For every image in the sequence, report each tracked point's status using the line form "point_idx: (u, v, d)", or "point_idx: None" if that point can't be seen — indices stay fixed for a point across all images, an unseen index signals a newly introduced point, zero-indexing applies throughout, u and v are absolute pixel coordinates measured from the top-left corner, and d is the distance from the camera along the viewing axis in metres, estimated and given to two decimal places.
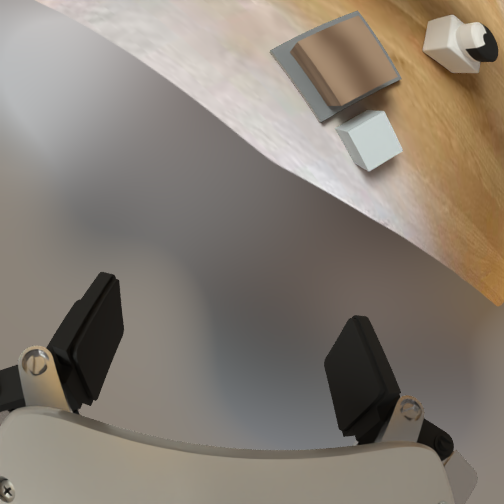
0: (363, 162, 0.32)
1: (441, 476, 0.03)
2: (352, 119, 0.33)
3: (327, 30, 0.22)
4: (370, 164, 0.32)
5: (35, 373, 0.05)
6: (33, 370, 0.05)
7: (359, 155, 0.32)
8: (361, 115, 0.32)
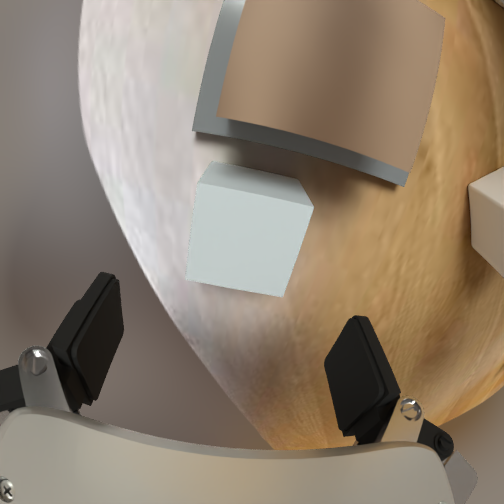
0: None
1: (441, 476, 0.03)
2: (254, 171, 0.18)
3: None
4: (195, 271, 0.16)
5: (35, 373, 0.05)
6: (33, 371, 0.05)
7: None
8: (274, 178, 0.17)
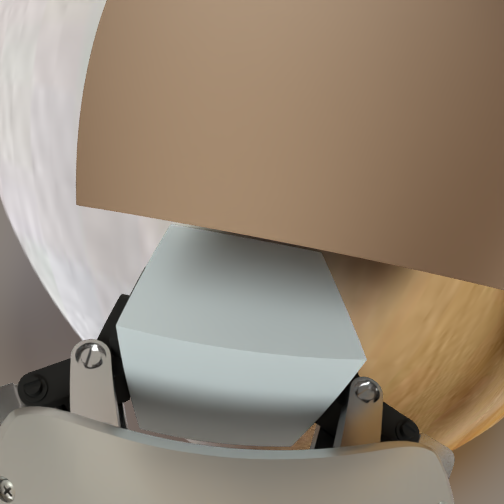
0: None
1: (441, 476, 0.03)
2: (244, 247, 0.10)
3: None
4: (152, 425, 0.08)
5: (88, 366, 0.06)
6: (86, 363, 0.06)
7: None
8: (283, 262, 0.09)
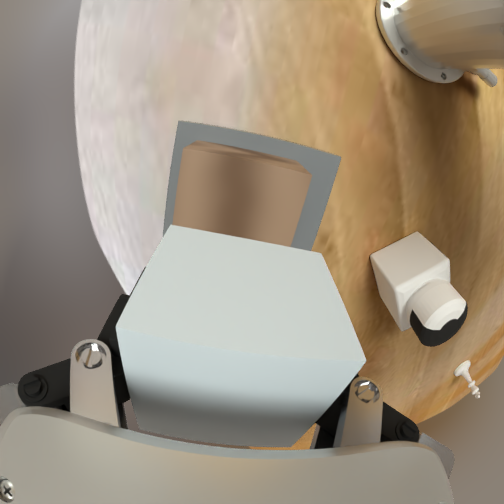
0: None
1: (441, 476, 0.03)
2: (244, 247, 0.10)
3: (240, 162, 0.18)
4: (152, 425, 0.08)
5: (88, 366, 0.06)
6: (86, 363, 0.06)
7: None
8: (282, 263, 0.09)
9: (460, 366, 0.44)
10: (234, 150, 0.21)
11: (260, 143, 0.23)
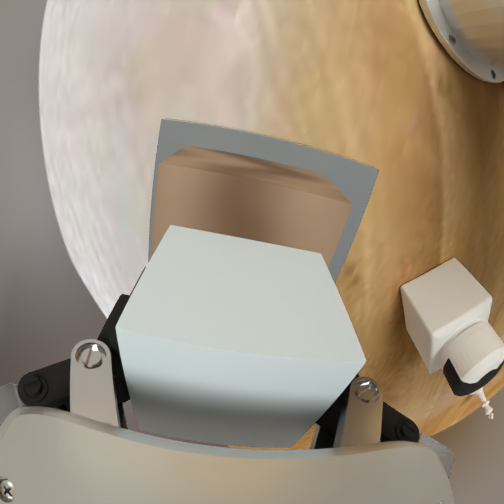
0: None
1: (441, 476, 0.03)
2: (244, 248, 0.10)
3: (246, 185, 0.12)
4: (152, 426, 0.08)
5: (88, 365, 0.06)
6: (86, 362, 0.06)
7: None
8: (282, 263, 0.09)
9: None
10: (237, 161, 0.15)
11: (273, 149, 0.17)
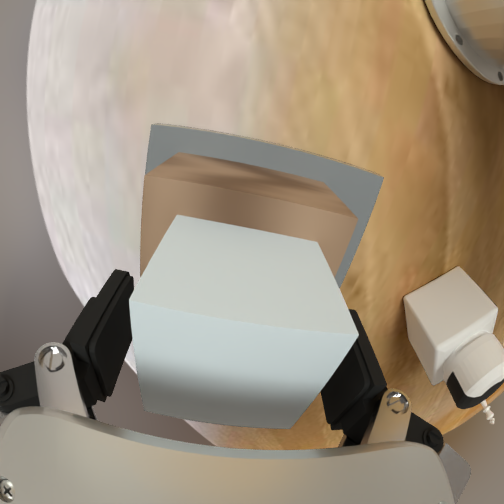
0: None
1: (441, 476, 0.03)
2: (245, 235, 0.11)
3: (241, 199, 0.11)
4: (157, 406, 0.09)
5: (52, 369, 0.05)
6: (49, 367, 0.06)
7: None
8: (281, 249, 0.10)
9: None
10: (232, 170, 0.13)
11: (271, 156, 0.16)
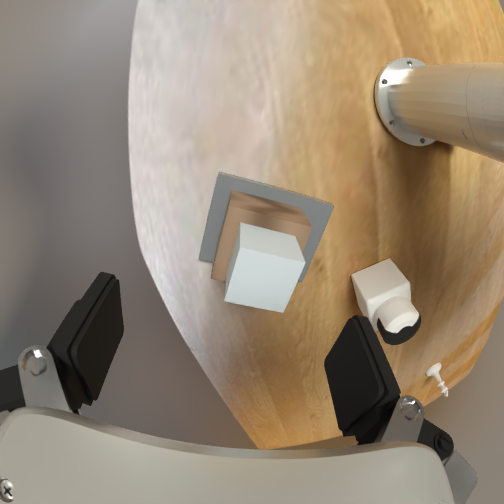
0: (227, 287, 0.26)
1: (441, 476, 0.03)
2: (267, 232, 0.28)
3: (266, 218, 0.28)
4: (232, 296, 0.26)
5: (35, 373, 0.05)
6: (33, 371, 0.05)
7: (230, 278, 0.26)
8: (281, 237, 0.28)
9: (431, 367, 0.56)
10: (260, 203, 0.31)
11: (276, 195, 0.33)
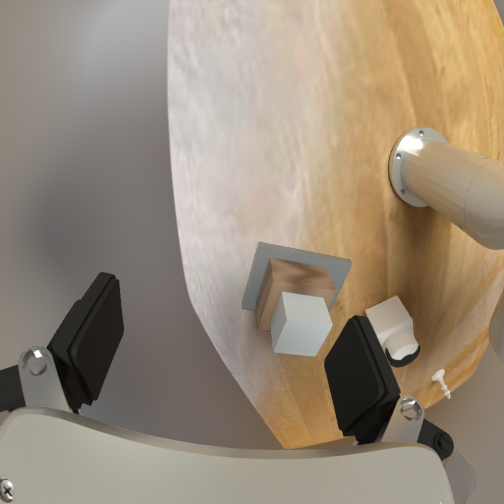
0: (275, 343, 0.34)
1: (441, 476, 0.03)
2: (303, 298, 0.36)
3: (302, 287, 0.36)
4: (278, 349, 0.34)
5: (35, 373, 0.05)
6: (33, 371, 0.05)
7: (277, 337, 0.33)
8: (313, 302, 0.35)
9: (436, 373, 0.62)
10: (294, 270, 0.38)
11: (306, 259, 0.41)
